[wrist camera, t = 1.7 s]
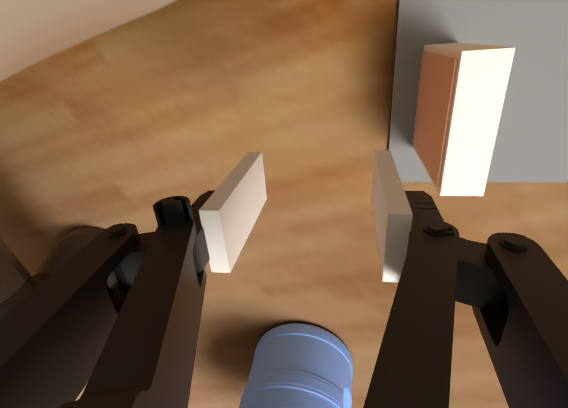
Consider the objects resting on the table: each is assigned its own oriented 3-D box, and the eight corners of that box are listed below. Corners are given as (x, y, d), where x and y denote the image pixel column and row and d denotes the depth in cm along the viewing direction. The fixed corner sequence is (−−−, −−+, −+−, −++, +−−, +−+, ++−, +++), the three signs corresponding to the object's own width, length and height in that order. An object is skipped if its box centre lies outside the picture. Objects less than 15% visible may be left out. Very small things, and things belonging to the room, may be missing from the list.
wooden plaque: (411, 147, 36) (437, 195, 25) (421, 45, 31) (458, 51, 21) (443, 147, 35) (483, 196, 25) (458, 42, 31) (515, 47, 20)
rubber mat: (386, 180, 38) (386, 182, 38) (399, -2, 30) (400, -2, 30) (585, 180, 35) (588, 182, 34) (659, -27, 27) (664, -28, 26)
